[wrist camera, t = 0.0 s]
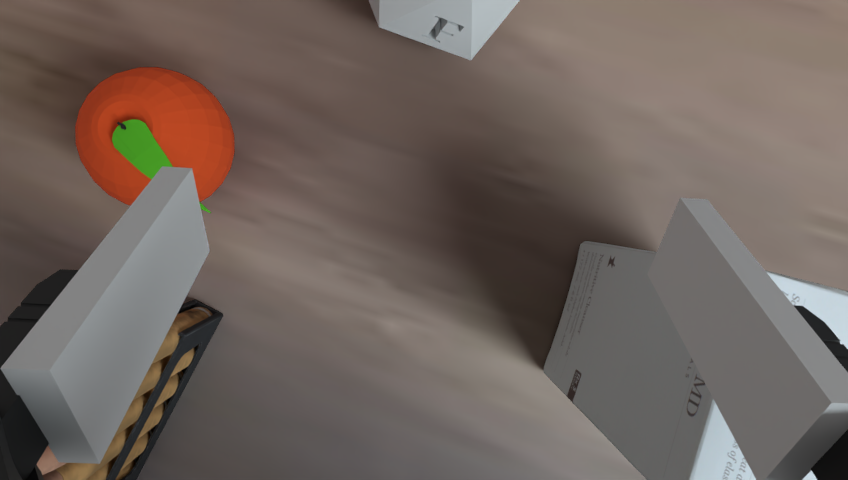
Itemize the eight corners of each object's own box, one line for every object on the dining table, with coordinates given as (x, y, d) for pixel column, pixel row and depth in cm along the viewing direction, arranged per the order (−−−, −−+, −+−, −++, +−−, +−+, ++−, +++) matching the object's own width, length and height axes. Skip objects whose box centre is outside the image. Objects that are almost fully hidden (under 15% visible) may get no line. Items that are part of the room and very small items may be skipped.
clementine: (288, 176, 30) (254, 159, 22) (191, 254, 29) (124, 261, 22) (197, 63, 29) (132, 10, 22) (97, 141, 29) (0, 112, 22)
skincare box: (579, 239, 30) (750, 247, 16) (676, 268, 31) (936, 301, 16) (539, 379, 30) (672, 519, 16) (637, 406, 31) (860, 569, 16)
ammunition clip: (134, 483, 29) (-48, 655, 17) (103, 468, 29) (-100, 631, 17) (224, 313, 30) (105, 369, 18) (194, 298, 29) (53, 343, 17)
